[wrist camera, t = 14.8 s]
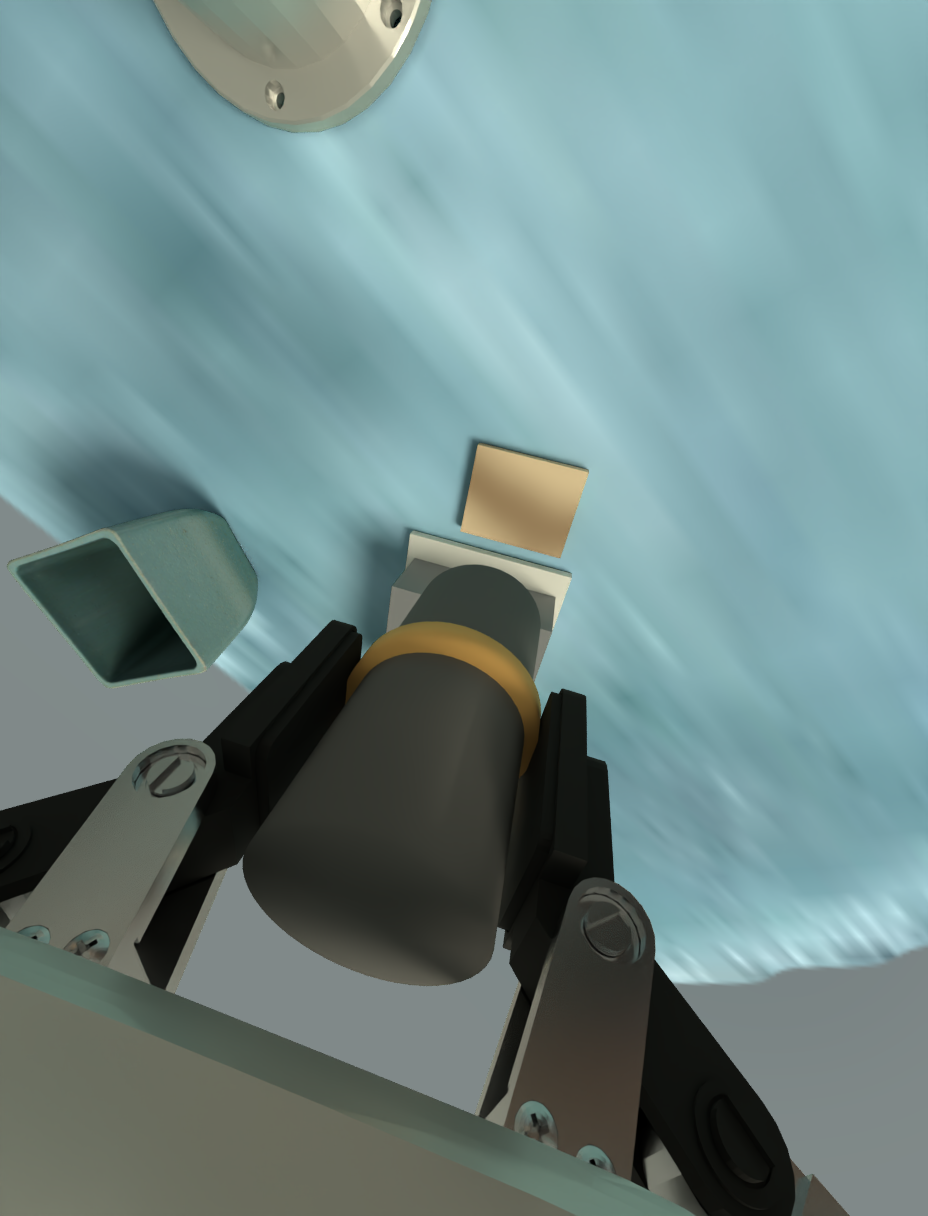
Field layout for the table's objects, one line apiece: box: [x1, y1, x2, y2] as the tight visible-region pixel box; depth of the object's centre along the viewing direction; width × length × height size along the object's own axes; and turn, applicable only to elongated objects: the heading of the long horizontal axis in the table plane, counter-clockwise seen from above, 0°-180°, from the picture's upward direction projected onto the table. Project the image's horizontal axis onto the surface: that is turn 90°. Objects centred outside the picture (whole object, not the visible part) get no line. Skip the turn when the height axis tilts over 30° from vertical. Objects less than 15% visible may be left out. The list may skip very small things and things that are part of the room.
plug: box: [243, 564, 541, 986], centre depth 11 cm, size 5×5×9 cm
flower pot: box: [7, 509, 258, 688], centre depth 28 cm, size 9×9×9 cm
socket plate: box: [386, 530, 572, 681], centre depth 27 cm, size 17×10×10 cm, turn 169°
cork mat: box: [461, 443, 589, 558], centre depth 25 cm, size 5×6×1 cm
